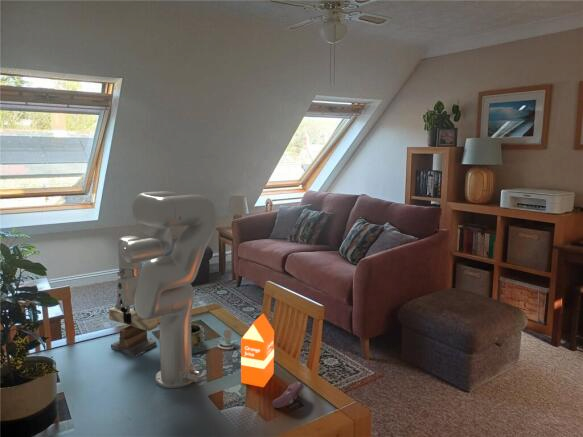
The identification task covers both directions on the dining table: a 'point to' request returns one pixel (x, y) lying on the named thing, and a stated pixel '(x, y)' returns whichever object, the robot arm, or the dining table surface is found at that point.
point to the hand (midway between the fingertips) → (132, 320)
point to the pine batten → (133, 319)
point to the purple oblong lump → (288, 395)
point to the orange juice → (257, 353)
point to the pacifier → (226, 340)
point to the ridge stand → (133, 341)
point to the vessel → (196, 336)
